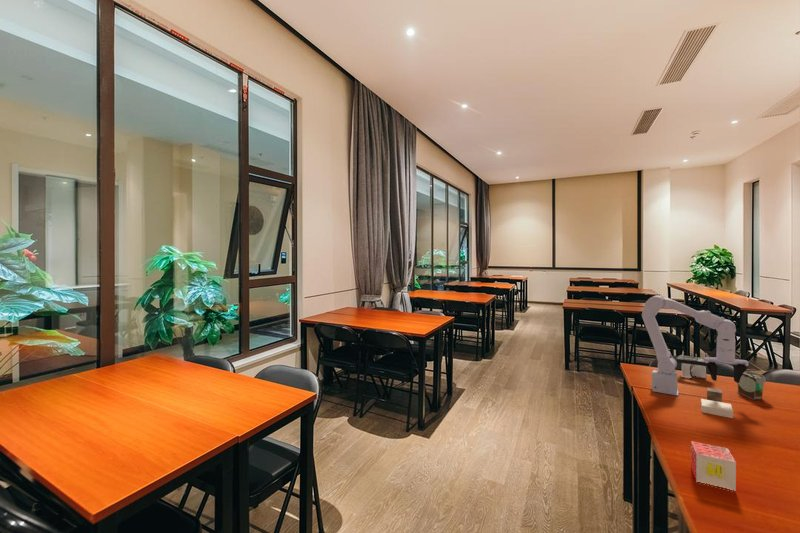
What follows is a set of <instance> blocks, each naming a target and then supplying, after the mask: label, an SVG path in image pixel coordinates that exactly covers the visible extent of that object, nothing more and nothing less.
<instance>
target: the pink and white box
mask: <svg viewBox="0 0 800 533" xmlns="http://www.w3.org/2000/svg"><path fill="white" fill-rule="evenodd" d="M690 458H691V459H690V470H691V471H692V473H693V474H692V475H693V476H694V480H695V482H696V483H697V482H701V483H705V484H706V483H707V484H710V485H714V486H719V487H723V488H727V489H730V490H734V491H736V492H737V461H736V460H735V457H733V455H732V454H731V451H730V450H729V448H728V447H727V448H726V447H723V446H717V445H713V444H708V443H703V442H698V441H693V440H690ZM695 478H696V479H695ZM701 483H700V484H701ZM705 484H704V485H705Z"/></svg>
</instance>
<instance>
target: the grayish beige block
mask: <svg viewBox="0 0 800 533" xmlns="http://www.w3.org/2000/svg"><path fill="white" fill-rule="evenodd" d="M706 400H711V401H717V402H722V403H723V391H722V389H719V388H718V389H717V388H713V387H706Z"/></svg>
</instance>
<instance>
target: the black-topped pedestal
mask: <svg viewBox="0 0 800 533" xmlns="http://www.w3.org/2000/svg"><path fill="white" fill-rule="evenodd" d="M703 357H708V353H707V352H706V354H704V355H703ZM703 357H699V355H698V354H697V353H693V354H692V353H691V352H688V353H685V352H684V351H682V354H680V355H678V356H677V357H676V362H677V363H680V364H681V378H682V377H685V379H690V378H692V379H693V377H695V376H696V378H700V377H701V378H702V379H707V365H706V364H705V362H703ZM691 375H692V376H691Z"/></svg>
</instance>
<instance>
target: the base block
mask: <svg viewBox="0 0 800 533" xmlns="http://www.w3.org/2000/svg"><path fill="white" fill-rule="evenodd" d="M700 405H701V406H700V407H701V408H700V409H701V413H703V414H709V415H714V416H715V415H716V416H719V417H725V418H730V419H734V409H733V406H732V404H731V403H728V402H727V403H726V402H723V401H722V402H717V401H711V400H707V398H706V399H704V398H700Z"/></svg>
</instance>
